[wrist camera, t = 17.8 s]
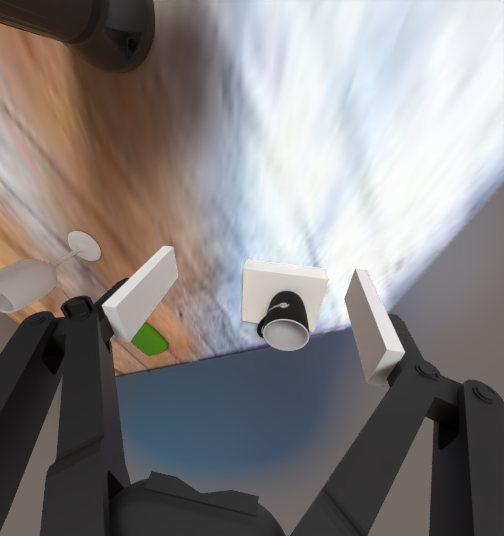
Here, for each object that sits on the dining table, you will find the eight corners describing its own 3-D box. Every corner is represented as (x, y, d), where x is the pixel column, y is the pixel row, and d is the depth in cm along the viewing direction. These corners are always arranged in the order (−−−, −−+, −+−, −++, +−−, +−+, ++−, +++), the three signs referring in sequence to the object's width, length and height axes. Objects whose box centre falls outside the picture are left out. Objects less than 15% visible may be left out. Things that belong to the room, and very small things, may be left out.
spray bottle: (151, 350, 80) (97, 301, 71) (173, 343, 76) (118, 289, 67) (146, 358, 78) (89, 307, 69) (168, 350, 73) (111, 296, 64)
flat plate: (244, 309, 62) (241, 320, 58) (246, 259, 53) (243, 268, 50) (312, 319, 60) (313, 331, 56) (326, 268, 51) (328, 279, 48)
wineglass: (62, 240, 59) (-36, 291, 41) (79, 224, 55) (-21, 273, 38) (90, 265, 62) (10, 323, 45) (107, 251, 58) (28, 308, 41)
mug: (293, 279, 49) (292, 312, 41) (314, 306, 52) (318, 343, 44) (249, 300, 54) (241, 333, 46) (271, 324, 57) (267, 359, 49)
